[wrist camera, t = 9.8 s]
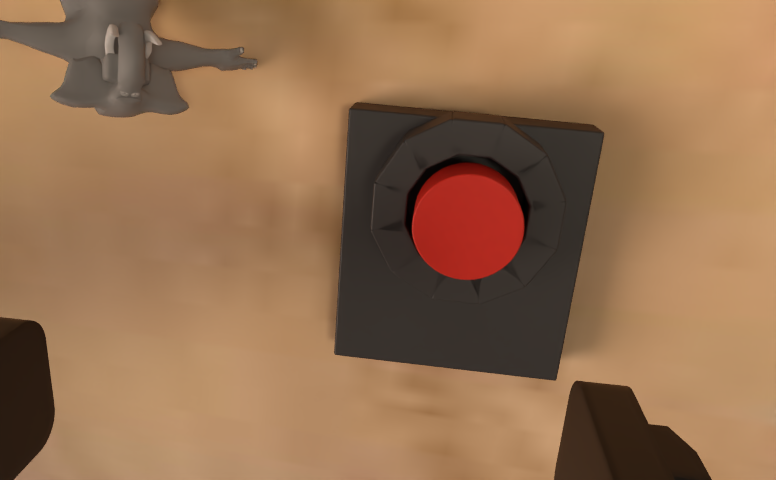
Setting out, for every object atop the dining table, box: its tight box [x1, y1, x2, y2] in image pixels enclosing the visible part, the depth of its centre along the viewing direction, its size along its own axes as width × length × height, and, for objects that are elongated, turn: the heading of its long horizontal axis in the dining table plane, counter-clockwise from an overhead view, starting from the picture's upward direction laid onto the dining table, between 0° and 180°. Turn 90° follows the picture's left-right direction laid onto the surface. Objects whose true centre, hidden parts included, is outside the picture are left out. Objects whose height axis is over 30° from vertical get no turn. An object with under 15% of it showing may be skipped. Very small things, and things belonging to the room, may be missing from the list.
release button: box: [412, 162, 525, 280], centre depth 21 cm, size 4×4×2 cm
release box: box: [334, 102, 604, 380], centre depth 24 cm, size 10×9×4 cm
